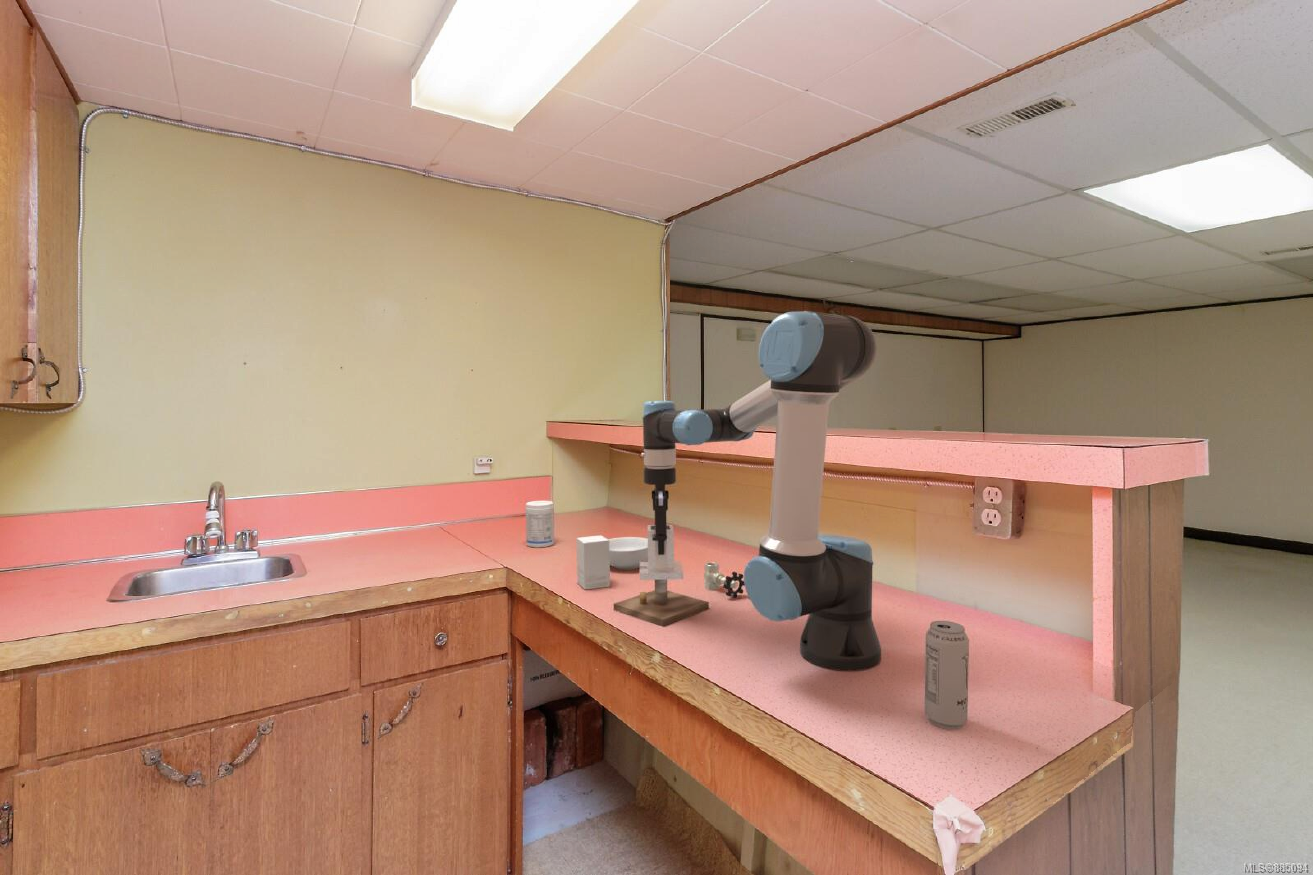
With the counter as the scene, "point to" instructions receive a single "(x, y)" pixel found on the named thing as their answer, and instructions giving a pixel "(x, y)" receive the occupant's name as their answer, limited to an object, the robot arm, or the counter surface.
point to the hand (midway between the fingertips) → (660, 563)
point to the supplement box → (593, 562)
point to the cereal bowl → (628, 552)
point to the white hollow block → (648, 567)
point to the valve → (722, 580)
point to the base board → (661, 605)
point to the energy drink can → (946, 674)
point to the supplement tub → (540, 523)
